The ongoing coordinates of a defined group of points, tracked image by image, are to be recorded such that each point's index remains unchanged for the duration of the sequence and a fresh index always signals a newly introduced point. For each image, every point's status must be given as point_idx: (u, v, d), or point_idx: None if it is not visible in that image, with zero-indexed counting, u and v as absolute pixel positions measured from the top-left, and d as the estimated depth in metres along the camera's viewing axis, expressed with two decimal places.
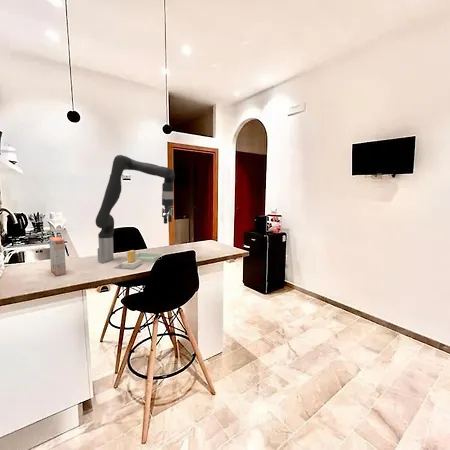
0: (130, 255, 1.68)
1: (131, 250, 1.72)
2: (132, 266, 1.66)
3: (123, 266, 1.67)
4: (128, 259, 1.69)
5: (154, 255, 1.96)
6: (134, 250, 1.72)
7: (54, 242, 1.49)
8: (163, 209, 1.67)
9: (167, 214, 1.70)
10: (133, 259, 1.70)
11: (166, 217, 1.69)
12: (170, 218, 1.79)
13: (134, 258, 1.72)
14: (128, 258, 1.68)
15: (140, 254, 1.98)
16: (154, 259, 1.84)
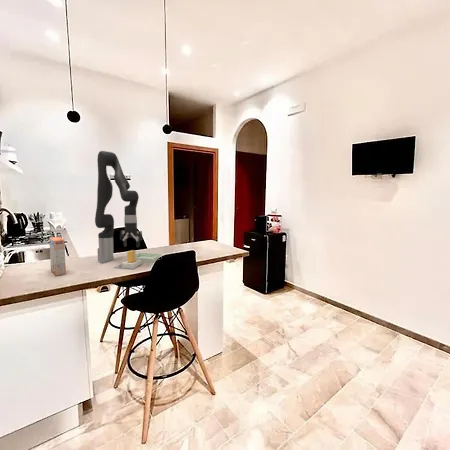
0: (130, 255, 1.68)
1: (131, 250, 1.72)
2: (132, 266, 1.66)
3: (123, 266, 1.67)
4: (128, 259, 1.69)
5: (154, 255, 1.96)
6: (134, 250, 1.72)
7: (54, 242, 1.49)
8: (140, 232, 1.67)
9: None
10: (133, 259, 1.70)
11: (139, 240, 1.70)
12: (125, 242, 1.70)
13: (134, 258, 1.72)
14: (128, 258, 1.68)
15: (140, 254, 1.98)
16: (154, 259, 1.84)
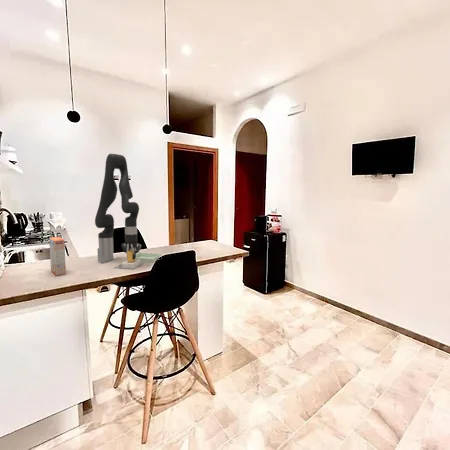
0: (130, 255, 1.68)
1: None
2: (132, 266, 1.66)
3: (123, 266, 1.67)
4: (128, 259, 1.69)
5: (154, 255, 1.96)
6: None
7: (54, 242, 1.49)
8: (140, 246, 1.69)
9: (135, 249, 1.71)
10: None
11: (135, 253, 1.71)
12: None
13: None
14: (128, 258, 1.69)
15: (140, 254, 1.98)
16: (154, 259, 1.84)
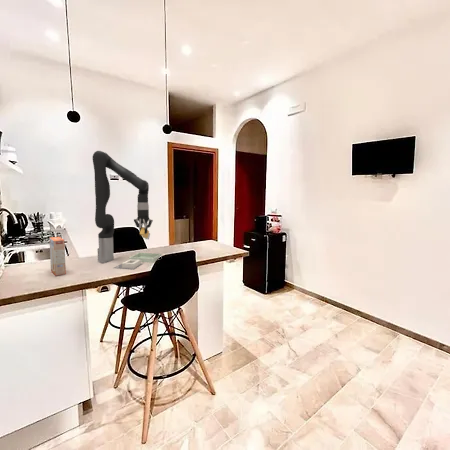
0: (143, 235, 1.84)
1: (142, 228, 1.84)
2: (132, 266, 1.66)
3: (123, 266, 1.67)
4: (143, 236, 1.86)
5: (154, 255, 1.96)
6: (144, 227, 1.84)
7: (54, 242, 1.49)
8: (151, 221, 1.82)
9: (147, 224, 1.85)
10: (147, 234, 1.87)
11: (147, 227, 1.85)
12: None
13: (147, 232, 1.88)
14: (143, 236, 1.86)
15: (140, 254, 1.98)
16: (154, 259, 1.84)
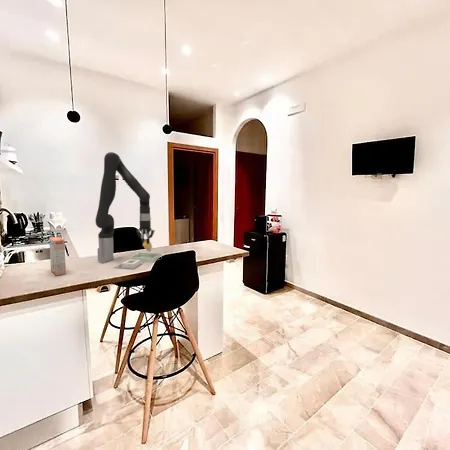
0: (146, 246, 1.89)
1: (144, 240, 1.89)
2: (132, 266, 1.66)
3: (123, 266, 1.67)
4: (145, 248, 1.91)
5: (154, 255, 1.96)
6: None
7: (54, 242, 1.49)
8: (153, 232, 1.86)
9: (149, 235, 1.89)
10: (149, 246, 1.92)
11: (149, 237, 1.89)
12: (143, 240, 1.89)
13: (150, 244, 1.93)
14: (145, 248, 1.91)
15: (140, 254, 1.98)
16: (154, 259, 1.84)
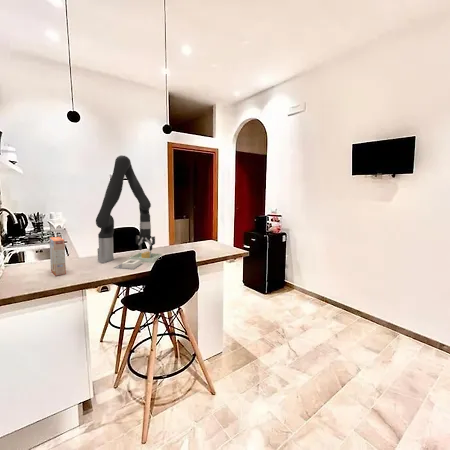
0: None
1: (142, 255, 1.86)
2: (132, 266, 1.66)
3: (123, 266, 1.67)
4: None
5: (154, 255, 1.96)
6: (144, 254, 1.86)
7: (54, 242, 1.49)
8: (154, 238, 1.87)
9: (151, 242, 1.89)
10: (148, 256, 1.91)
11: (152, 244, 1.89)
12: (141, 246, 1.90)
13: (148, 254, 1.91)
14: None
15: (140, 254, 1.98)
16: (154, 259, 1.84)
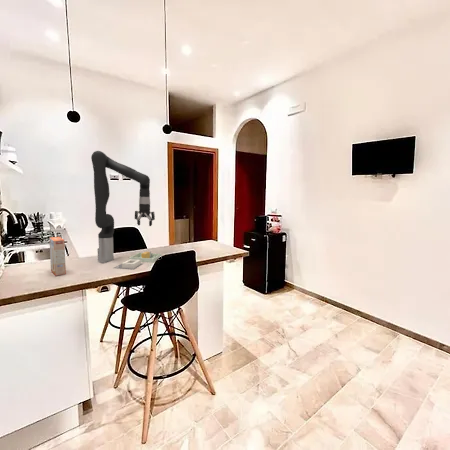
0: None
1: (142, 255, 1.86)
2: (132, 266, 1.66)
3: (123, 266, 1.67)
4: None
5: (154, 255, 1.96)
6: (144, 254, 1.86)
7: (54, 242, 1.49)
8: (153, 213, 1.87)
9: (150, 217, 1.89)
10: (148, 256, 1.91)
11: None
12: (139, 221, 1.90)
13: (148, 254, 1.91)
14: None
15: (140, 254, 1.98)
16: (154, 259, 1.84)
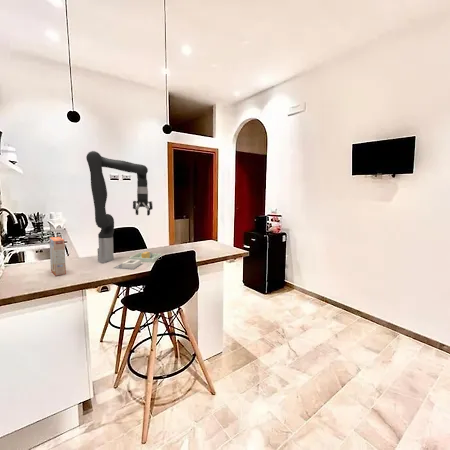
0: None
1: (142, 255, 1.86)
2: (132, 266, 1.66)
3: (123, 266, 1.67)
4: None
5: (154, 255, 1.96)
6: (144, 254, 1.86)
7: (54, 242, 1.49)
8: (151, 202, 1.91)
9: (148, 207, 1.94)
10: (148, 256, 1.91)
11: (150, 209, 1.93)
12: (137, 211, 1.94)
13: (148, 254, 1.91)
14: None
15: (140, 254, 1.98)
16: (154, 259, 1.84)
